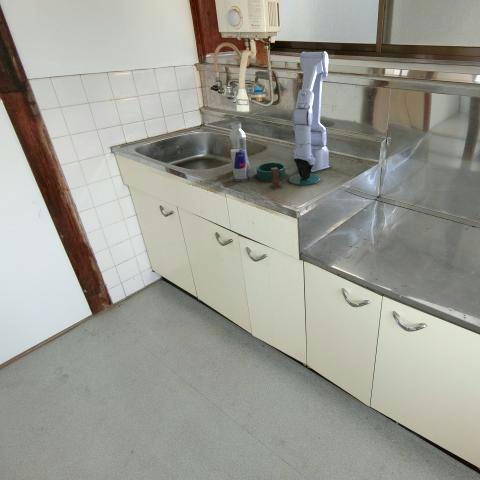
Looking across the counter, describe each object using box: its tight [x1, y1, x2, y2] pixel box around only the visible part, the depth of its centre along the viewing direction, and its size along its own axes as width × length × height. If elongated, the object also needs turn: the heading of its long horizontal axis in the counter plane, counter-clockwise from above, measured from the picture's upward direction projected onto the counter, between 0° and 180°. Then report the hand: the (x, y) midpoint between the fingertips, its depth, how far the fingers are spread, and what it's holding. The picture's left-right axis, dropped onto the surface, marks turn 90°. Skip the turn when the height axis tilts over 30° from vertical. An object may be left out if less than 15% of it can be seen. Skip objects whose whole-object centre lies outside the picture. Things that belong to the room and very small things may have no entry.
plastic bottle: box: [229, 121, 251, 172], centre depth 146 cm, size 6×7×20 cm
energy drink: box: [230, 148, 249, 182], centre depth 140 cm, size 5×5×12 cm
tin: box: [256, 162, 286, 181], centre depth 145 cm, size 11×11×4 cm
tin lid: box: [288, 170, 321, 187], centre depth 140 cm, size 12×12×4 cm
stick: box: [271, 167, 281, 189], centre depth 134 cm, size 2×2×8 cm
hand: (304, 177), depth 140 cm, fingers closed on tin lid, 2 cm apart
